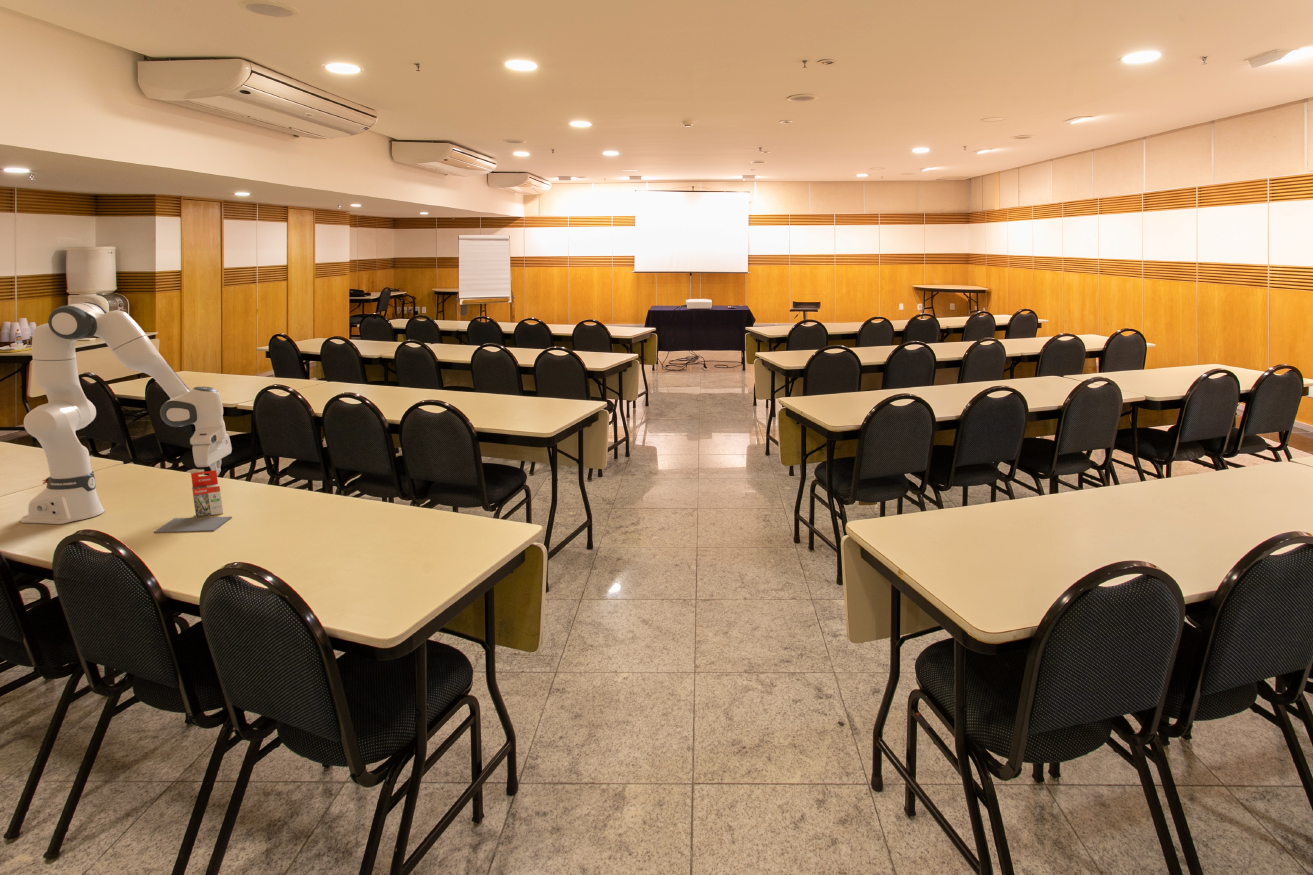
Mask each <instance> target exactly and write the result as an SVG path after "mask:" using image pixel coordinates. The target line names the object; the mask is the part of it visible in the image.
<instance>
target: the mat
mask: <svg viewBox="0 0 1313 875" xmlns="http://www.w3.org/2000/svg"><path fill="white" fill-rule="evenodd" d="M232 518H233V516H203V517H174V518H172V519H171V520H169V521H168V522H166V523H165V524H163V525H162V526H160V527H159V528H157V529H156V530H154V531H153V534H161V533H162V534H165V533H168V534H170V533H193V532H195V533H197V532H199V533H200V532H203V533H204V532H216V531H217V529H219V528H220V527H222V526H223V525H224V524H226V523H227V522H228V521H230V520H231V519H232Z"/></svg>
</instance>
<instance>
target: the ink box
mask: <svg viewBox="0 0 1313 875" xmlns="http://www.w3.org/2000/svg"><path fill="white" fill-rule="evenodd" d="M203 474H205V475H203ZM207 474H209V475H207ZM190 475H191V476H190V478H191V483H192V484H191V485H192V486H191V490H192V497H193V505H194V511H195V516H196V517H195V518H200V517H210V516H214V515H221V514H224V509H223V508H224V507H223V501H222V496H221V495H222V493H221V488H220V487H221V486H220V484H219V479H218V473H217V472H216V470H214V471H211V470H207V471H200V472H199V471H198V472H192V473H190Z"/></svg>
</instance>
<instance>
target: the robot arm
mask: <svg viewBox="0 0 1313 875" xmlns="http://www.w3.org/2000/svg"><path fill="white" fill-rule="evenodd" d="M93 337H97V338H100V340H102V341H104V343H105V344H106V345H107V347H108V348H109V350H111V352H112V354H113V355H114V356H115V358H117V359H118V361H119V362H120V363H121V364H122V365H123V366H124V367H126V368H127V369H129V370H133V371H137V372H141V373H144V374H145V375H148V376H150V377H152V378H153V379H154V381H156V382H157V383H158V385H159V386H160V388H162V390H163V391H164V392H165V393H166V394H167V396H168V397H169V400H167V401H165V402H164V403H163V404H162V405H161V407H160V409H159V415H160V418H161V420H162V421H163V422H164V423H165V424H166V425H167V426H170V427H173V428H180V427H185V426H188V425H189V426H190V425H194V427H195V431H194V432H193V434H192V436H191V437H190V438H189V444H190V445H192V456H193V462H194V465H195V466H196V467H197V468H207V467H209V468H210V471H214V470H216V472H217V474H219V473H220V472H221V471H222V469H221V466H222V459H223V458H225V457H227V456H228V455H230V454H232V450H233V447H232V443H231V439H230V435H229V434H228V433H227V430H226V423H225V420H224V416H223V415H224V406H223V401H222V397H221V394H220V392H219V390H217V389H216V388H214V387H210V386H195V387H193V388H192V389H190V388H189V387H188V385H187V384H186V383H185V382H184V381H183V380H182V378H181V377H180V376H179V375H178V374H177V373H176V371H175V370H174V369H173V368H172V367H171V365H170V364H169V363H168V361H167V360H165V358H164V357H163V356H162V355H161V353H160V352H159V351H158V349H157V347H155V345H154V343H153V342H152V341H151V339H150V338H149V336H148V335H147V334H146V332H145V331H144V330H143V329H142V327H141V326H140V325H139V323H137V322H136V320H134V318H132V317H131V316H130V315H129V314H128V313H127V312H125V311H123V310H116V309H115V310H110V311H108V310H106V309H105V308H104V307H103V306H101V305H100V304H97V303H95V302H89V301H88V302H87V301H86V302H72V303H70V304H66V305H61V306H58V307H57V308H55V309H54V310H53V311H52V312H50V314H49V316H48V320H47V323H43V324H40V325H38V326H36V327H35V328H34V329H33V333H32V339H31V354H32V365H33V372H34V381H35V383H36V384H37V386H38V387H40V388H42V390H43V391H44V394H45V395H46V398H47V400H48V402H47V403H44V404H40V405H38V406H36V407H35V408H33V409H31V410H30V411H29V412H28V413H27V414H26V415H25V416H24V418H23V426H24V429H25V431H26V432H27V433H28V434H29V435H30V436H31V437H33V438H35V439H36V440H37V441H38V442H39V444H40V446H41V448H42V449H43V451H44V454H45V457H46V461H47V465H48V466H47V467H48V471H49V476H48V477H46V479H43V480H42V485H44V484H46V488H44V489H43V490H42V491H41V492H39V493H38V494H37V495H35V497H33V498H32V499H31V500H30V501H29V503H28V507H27V508H28V510H27V513H26V514H24V515H23V516H22V517H21V518H20V523H22V524H23V523H24V524H48V525H49V524H55V525H64V524H67V523H71V522H75V521H82V520H85V519H90V518H93V517H97V516H99V515H101V514H104V512H105V509H104V507H103V505H102V503H101V501H100V498H99V496H98V493H97V489H96V488H97V486H96V484H97V483H96V477H95V474H94V471H93V469H92V465H91V464H92V463H91V459H90V452H89V450H88V448H87V447H86V446H84V445H83V444H82V443H81V442H80V440H79V438H78V437H77V434H76V431H79V430H82V429H84V428H86V427H88V425H89V424H91V423H92V422H94V421H95V418H96V417H97V409H96V406H95V405H94V404H93V402H91V400H89V399H88V398H87V396H86V394H85V393H84V390H83V388H82V385H81V382H80V378H79V371H78V362H77V354H76V344H77V341H79V340H81V339H82V340H83V339H87V338H93Z"/></svg>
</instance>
